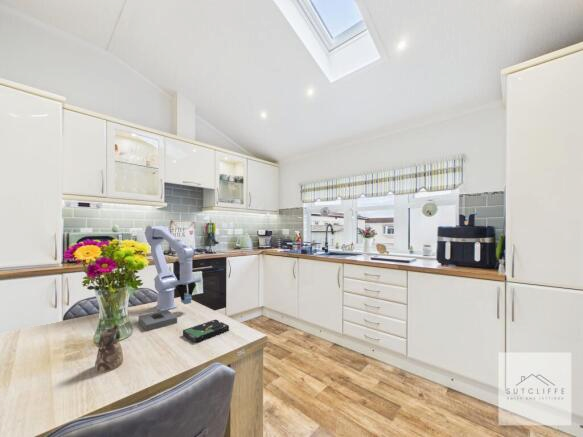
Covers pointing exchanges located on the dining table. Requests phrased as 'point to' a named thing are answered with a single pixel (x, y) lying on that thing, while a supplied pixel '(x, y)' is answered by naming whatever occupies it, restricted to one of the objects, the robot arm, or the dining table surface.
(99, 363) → the figurine
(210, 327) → the disk drive
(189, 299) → the servo
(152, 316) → the chassis
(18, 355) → the dining table surface
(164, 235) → the robot arm
